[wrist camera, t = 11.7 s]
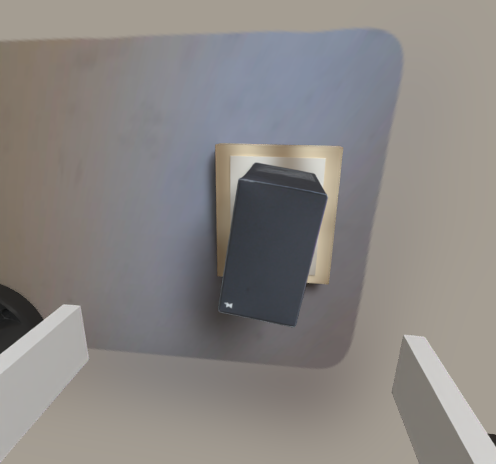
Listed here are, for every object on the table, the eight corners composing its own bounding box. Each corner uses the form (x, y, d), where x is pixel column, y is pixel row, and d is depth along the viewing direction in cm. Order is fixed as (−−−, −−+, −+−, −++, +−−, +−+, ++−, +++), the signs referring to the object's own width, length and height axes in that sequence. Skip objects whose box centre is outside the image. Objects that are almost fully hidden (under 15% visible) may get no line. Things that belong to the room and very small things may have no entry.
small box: (296, 272, 34) (298, 333, 24) (236, 260, 34) (213, 314, 24) (320, 172, 30) (333, 195, 20) (252, 160, 31) (233, 177, 21)
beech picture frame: (222, 266, 38) (217, 276, 35) (220, 143, 33) (214, 144, 31) (326, 274, 36) (328, 285, 34) (339, 146, 32) (343, 147, 29)
